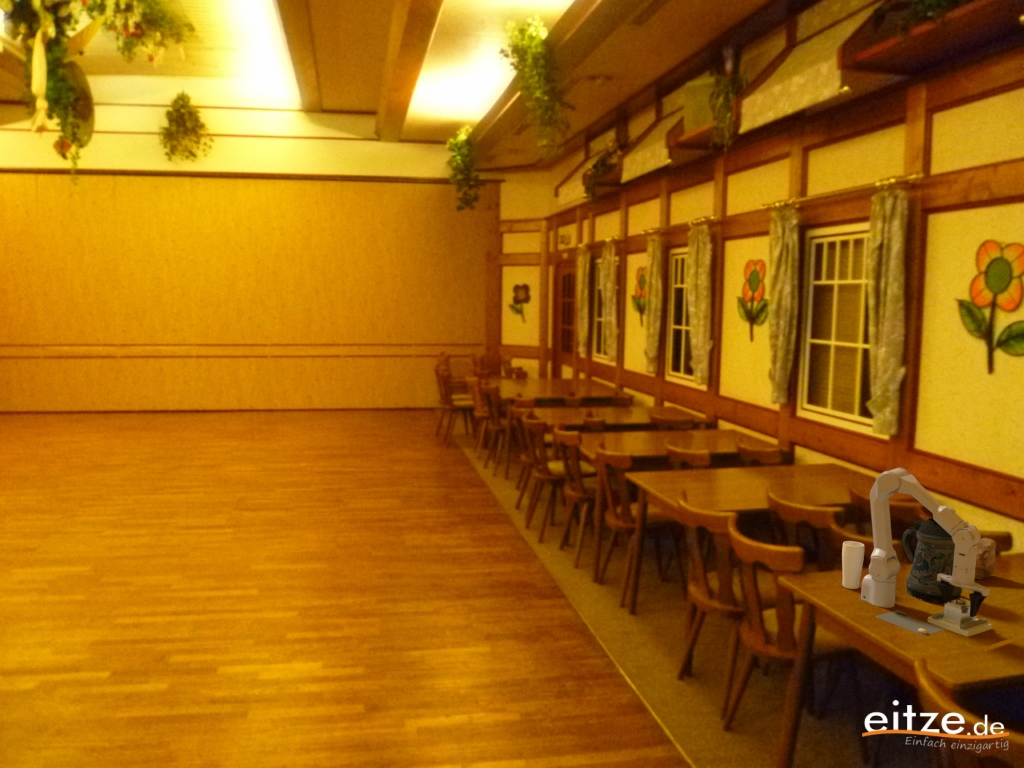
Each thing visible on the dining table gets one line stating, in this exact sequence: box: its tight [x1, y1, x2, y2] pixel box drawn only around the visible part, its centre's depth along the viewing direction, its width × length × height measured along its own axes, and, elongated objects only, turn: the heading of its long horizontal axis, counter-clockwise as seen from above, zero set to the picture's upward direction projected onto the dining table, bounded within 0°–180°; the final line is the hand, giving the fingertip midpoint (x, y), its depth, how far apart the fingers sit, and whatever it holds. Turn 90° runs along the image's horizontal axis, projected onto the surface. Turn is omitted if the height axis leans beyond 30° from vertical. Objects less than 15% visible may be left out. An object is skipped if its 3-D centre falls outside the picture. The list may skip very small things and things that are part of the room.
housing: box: [943, 597, 977, 626], centre depth 238 cm, size 8×5×6 cm, turn 120°
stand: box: [927, 611, 993, 638], centre depth 238 cm, size 12×12×4 cm
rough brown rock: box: [974, 537, 997, 581], centre depth 286 cm, size 23×17×15 cm
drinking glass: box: [841, 540, 865, 590], centre depth 271 cm, size 7×7×15 cm
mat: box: [874, 609, 945, 637], centre depth 239 cm, size 16×10×2 cm, turn 30°
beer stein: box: [902, 517, 963, 605], centre depth 265 cm, size 16×19×25 cm
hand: (960, 611), depth 238 cm, fingers open, 7 cm apart
